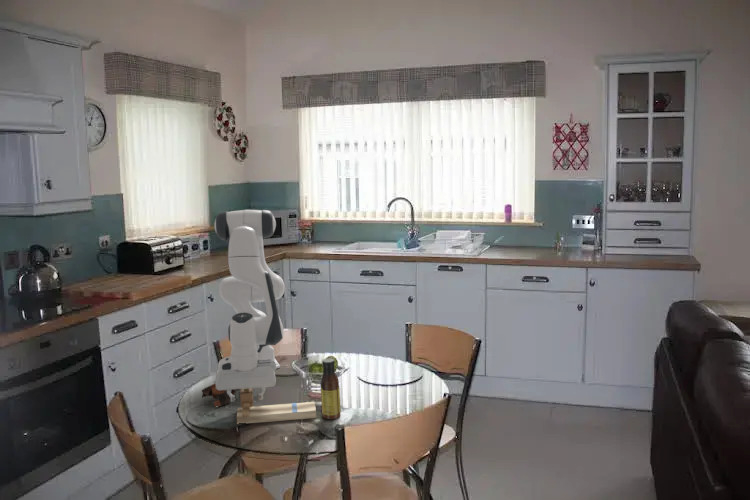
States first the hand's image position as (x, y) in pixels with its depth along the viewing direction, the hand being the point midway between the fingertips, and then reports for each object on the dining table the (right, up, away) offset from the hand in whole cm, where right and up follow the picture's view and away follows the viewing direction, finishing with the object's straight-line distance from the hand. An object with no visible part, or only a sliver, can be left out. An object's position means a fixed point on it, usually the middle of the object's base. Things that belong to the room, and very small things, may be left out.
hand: (246, 400), depth 234 cm
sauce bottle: (+29, -4, -6) cm, 30 cm away
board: (+11, -4, -5) cm, 13 cm away
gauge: (+1, -5, -4) cm, 6 cm away
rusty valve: (-11, -3, +9) cm, 15 cm away
